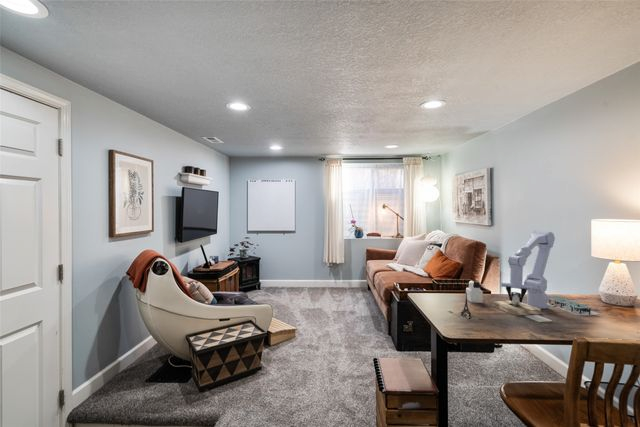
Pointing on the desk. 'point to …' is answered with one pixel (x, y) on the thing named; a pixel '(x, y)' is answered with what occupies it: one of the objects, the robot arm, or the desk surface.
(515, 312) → the bore block
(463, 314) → the eiffel tower figurine
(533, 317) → the mat
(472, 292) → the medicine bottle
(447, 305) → the desk surface
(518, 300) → the end cover
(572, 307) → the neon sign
